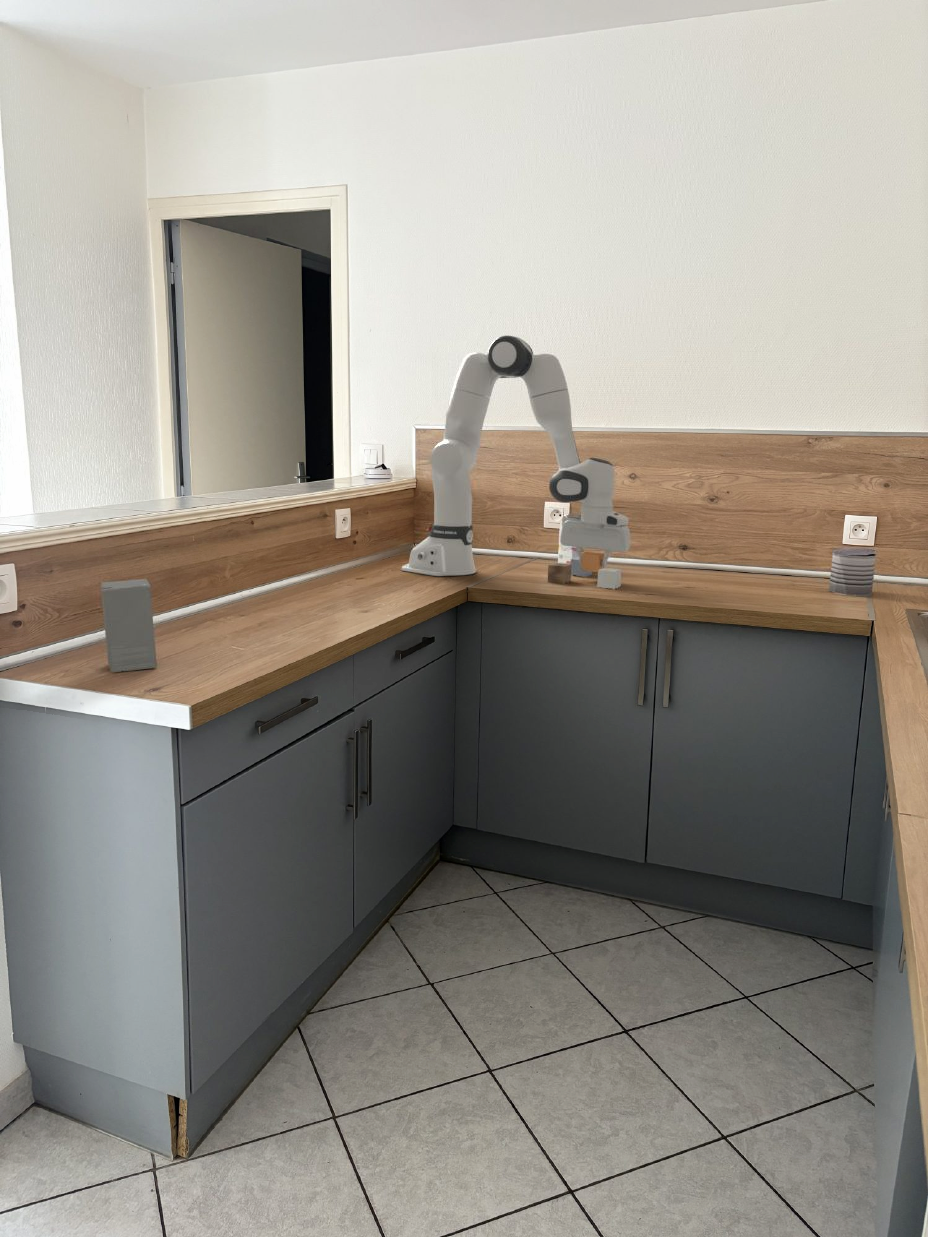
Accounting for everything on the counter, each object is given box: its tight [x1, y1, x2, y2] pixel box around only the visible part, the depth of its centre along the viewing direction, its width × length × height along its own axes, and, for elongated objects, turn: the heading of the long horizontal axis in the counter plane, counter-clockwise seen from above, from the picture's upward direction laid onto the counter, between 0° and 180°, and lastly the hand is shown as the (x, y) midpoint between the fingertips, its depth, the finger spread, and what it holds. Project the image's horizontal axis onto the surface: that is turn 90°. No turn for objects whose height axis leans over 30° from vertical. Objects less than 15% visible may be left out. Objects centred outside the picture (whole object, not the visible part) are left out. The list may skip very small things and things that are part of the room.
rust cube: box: [581, 550, 606, 573], centre depth 269 cm, size 5×5×5 cm
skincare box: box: [100, 578, 158, 674], centre depth 169 cm, size 8×7×16 cm
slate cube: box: [571, 557, 593, 578], centre depth 279 cm, size 5×5×5 cm
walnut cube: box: [547, 562, 572, 584], centre depth 267 cm, size 5×5×5 cm
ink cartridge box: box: [557, 520, 586, 564], centre depth 289 cm, size 9×5×15 cm, turn 25°
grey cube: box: [596, 567, 622, 590], centre depth 260 cm, size 5×5×5 cm
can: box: [828, 547, 878, 597], centre depth 258 cm, size 11×11×12 cm
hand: (592, 564), depth 269 cm, fingers closed on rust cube, 5 cm apart
